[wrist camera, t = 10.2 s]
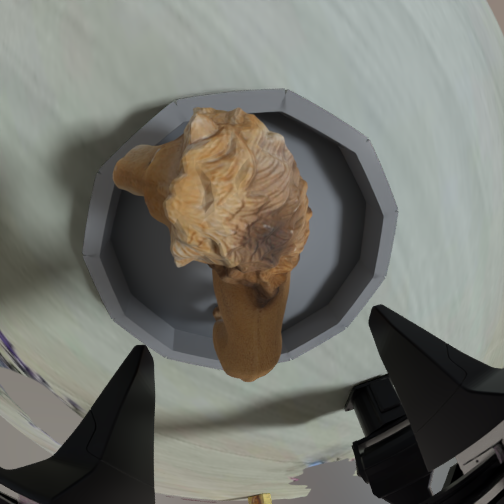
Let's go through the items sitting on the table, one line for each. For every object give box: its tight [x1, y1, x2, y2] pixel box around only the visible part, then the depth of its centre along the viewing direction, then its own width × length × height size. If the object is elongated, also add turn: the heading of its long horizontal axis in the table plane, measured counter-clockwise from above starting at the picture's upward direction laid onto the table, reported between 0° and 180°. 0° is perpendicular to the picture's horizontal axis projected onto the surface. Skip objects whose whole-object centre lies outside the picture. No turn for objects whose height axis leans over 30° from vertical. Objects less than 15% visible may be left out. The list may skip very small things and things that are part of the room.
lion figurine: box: [113, 107, 312, 382], centre depth 11 cm, size 15×5×9 cm, turn 10°
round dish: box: [82, 89, 398, 370], centre depth 15 cm, size 17×17×3 cm
